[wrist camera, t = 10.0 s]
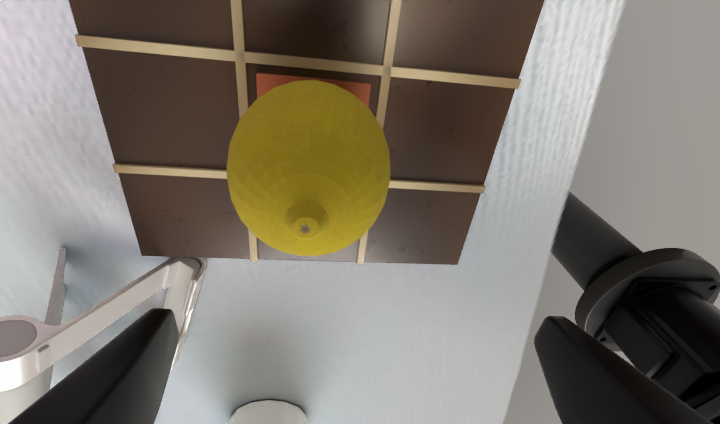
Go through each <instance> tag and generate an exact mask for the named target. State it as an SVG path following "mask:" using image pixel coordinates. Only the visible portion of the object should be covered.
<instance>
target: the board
mask: <svg viewBox="0 0 720 424" xmlns="http://www.w3.org/2000/svg"><path fill="white" fill-rule="evenodd" d="M69 3H70V7H71V10H72V14H73V17H74V21H75V24H76V28H77V31H78V34H77V35H75V38H76V41H77V44H78V46H80V47H82V48H83V52H84V55H85V59H86V62H87V66H88V69H89V73H90V76H91V80H92V83H93V87H94V90H95V94H96V97H97V101H98V104H99V108H100V111H101V115H102V118H103V122H104V125H105V129H106V132H107V136H108V139H109V143H110V146H111V150H112V153H113V157H114V160H115V163H114V164H113V168H114V171H115V173H118V174H119V177H120V181H121V184H122V188H123V191H124V195H125V198H126V202H127V205H128V209H129V212H130V216H131V219H132V223H133V226H134V230H135V233H136V237H137V240H138V244H139V247H140V251H141V254H142V256H169V257H205V258H240V259H250V260H251V261H252V262H258V259H275V260H310V261H346V262H357V264H361V265H363V264H364V262H381V263H416V264H451V265H457V264H458V261H459V258H460V255H461V252H462V249H463V245H464V242H465V239H466V236H467V233H468V230H469V227H470V224H471V221H472V218H473V215H474V212H475V209H476V206H477V203H478V200H479V197H480V194H481V193H483V192H484V189H485V186H484V182H485V179H486V176H487V173H488V170H489V167H490V164H491V160H492V157H493V154H494V151H495V148H496V145H497V142H498V139H499V136H500V133H501V130H502V127H503V124H504V121H505V118H506V115H507V112H508V109H509V106H510V103H511V100H512V97H513V94H514V91H515V89H518V87H519V84H520V81H521V79H519V75H520V72H521V69H522V66H523V63H524V60H525V57H526V54H527V51H528V48H529V45H530V42H531V39H532V36H533V33H534V30H535V27H536V24H537V21H538V18H539V15H540V12H541V9H542V6H543V3H544V0H69ZM302 80H318V81H322V82H327V83H331V84H335V85H337V86H339V87H341V88H343V89H345V90H347V91H349V92H351V93H352V94H354V95H355V96H356V97H357V98H358V99H360V100H361V101H362V102H363V103H364V104H365V105H366V106H367V107H368V108H369V109H370V110H371V112H372V113H373V115H374V116H375V118H376V119H377V121H378V122H379V124H380V125H381V127H382V129H383V133H384V136H385V139H386V142H387V145H388V148H389V154H390V183H389V187H388V191H387V196H386V200H385V203H384V206H383V208H382V210H381V212H380V213H379V215H378V217H377V219H376V221H375V222H374V224H373V225H372V226H371V227H370V229H369V230H368V231H367V232H366V233H365V234H364V235H363V236H362V237H361V238H360V239H358V240H357V241H355V242H354V243H352V244H351V245H349V246H348V247H346V248H344V249H341V250H339V251H336V252H334V253H331V254H325V255H319V256H298V255H294V254H289V253H285V252H282V251H279V250H277V249H275V248H273V247H270V246H268V245H267V244H265V243H264V242H263V241H261V240H260V239H259V238H257V237H256V236H254V234H253V233H252V232H251V231H250V230H249V229H248V228H247V226H246V225H245V224H244V223H243V222H242V221H241V219H240V217H239V215H238V213H237V211H236V209H235V207H234V205H233V203H232V200H231V197H230V191H229V186H228V181H227V161H228V152H229V145H230V141H231V139H232V136H233V134H234V132H235V129H236V127H237V125H238V122H239V120H240V118H241V117H242V116H243V115H244V113H245V112H246V111H247V110H248V109H249V107H250V106H251V105H252V104H253V103H254V101H255V100H257V99H258V98H259V97H261V96H262V95H264V94H265V93H267V92H268V91H270V90H271V89H273V88H274V87H277V86H280V85H284V84H287V83H290V82H293V81H302Z"/></svg>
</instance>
